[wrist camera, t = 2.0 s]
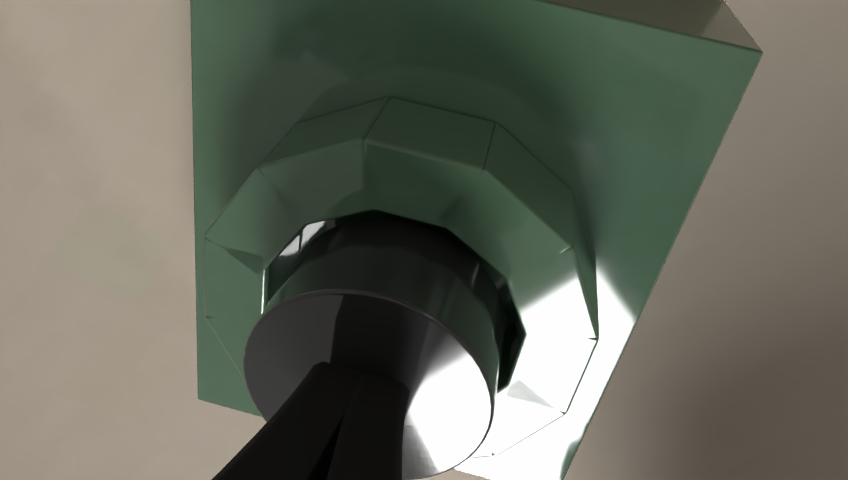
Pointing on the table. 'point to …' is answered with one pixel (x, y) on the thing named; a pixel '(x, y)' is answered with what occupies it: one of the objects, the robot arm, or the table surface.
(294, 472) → the robot arm
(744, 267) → the table surface
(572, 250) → the green button base
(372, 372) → the black push button
